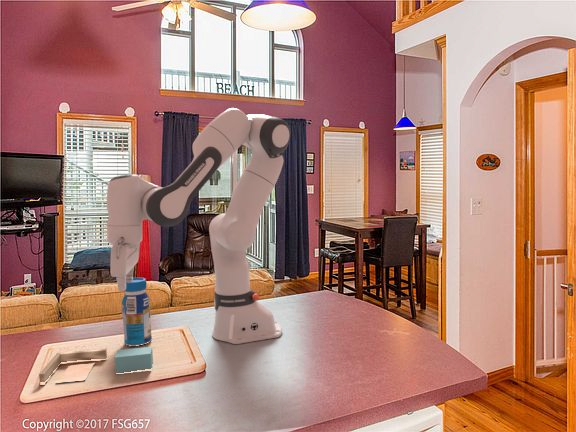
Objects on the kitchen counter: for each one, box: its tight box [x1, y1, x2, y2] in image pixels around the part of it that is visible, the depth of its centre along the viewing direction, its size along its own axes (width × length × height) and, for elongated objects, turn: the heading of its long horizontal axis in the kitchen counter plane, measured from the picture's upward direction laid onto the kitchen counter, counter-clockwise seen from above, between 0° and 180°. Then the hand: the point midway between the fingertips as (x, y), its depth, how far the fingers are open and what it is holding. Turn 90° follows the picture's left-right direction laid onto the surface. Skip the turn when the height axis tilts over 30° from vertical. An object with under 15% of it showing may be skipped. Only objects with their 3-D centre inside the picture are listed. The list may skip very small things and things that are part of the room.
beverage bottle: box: [121, 277, 153, 346], centre depth 137 cm, size 8×8×20 cm
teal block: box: [114, 346, 154, 374], centre depth 119 cm, size 9×5×5 cm, turn 102°
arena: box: [38, 348, 108, 383], centre depth 118 cm, size 13×14×3 cm
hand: (125, 286), depth 119 cm, fingers open, 8 cm apart
